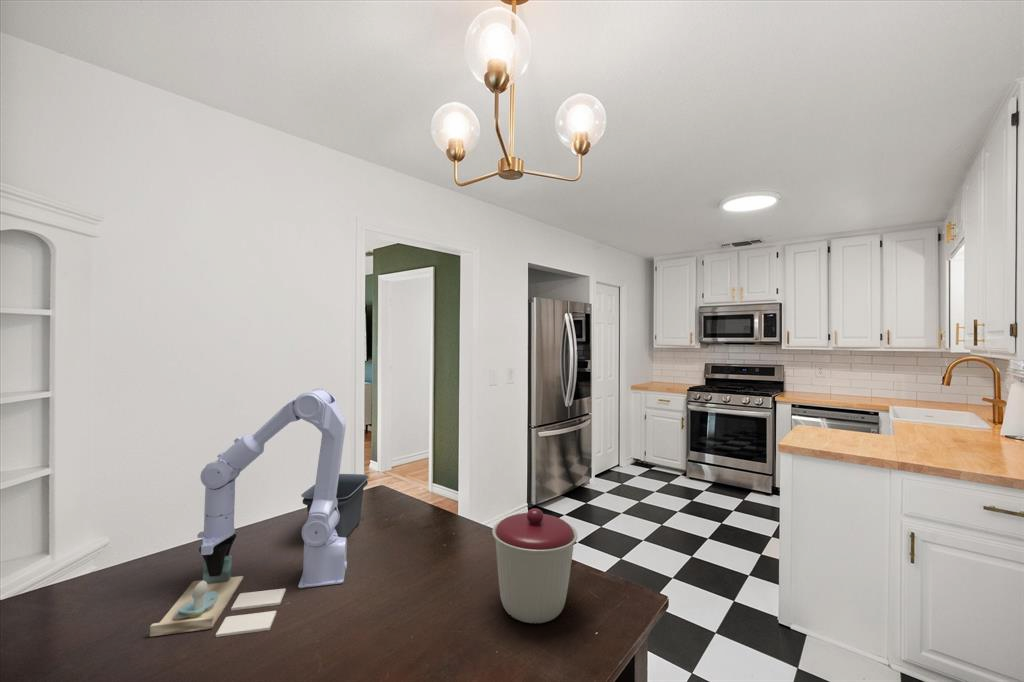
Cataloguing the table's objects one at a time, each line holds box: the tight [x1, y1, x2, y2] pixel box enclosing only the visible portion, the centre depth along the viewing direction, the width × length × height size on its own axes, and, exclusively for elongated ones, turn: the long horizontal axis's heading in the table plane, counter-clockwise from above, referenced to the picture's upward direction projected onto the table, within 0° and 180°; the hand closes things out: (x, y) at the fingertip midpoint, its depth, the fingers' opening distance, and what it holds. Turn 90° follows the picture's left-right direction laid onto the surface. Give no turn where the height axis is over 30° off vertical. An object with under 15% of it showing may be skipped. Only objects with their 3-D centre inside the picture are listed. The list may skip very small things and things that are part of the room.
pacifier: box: [173, 581, 218, 619], centre depth 88 cm, size 7×6×6 cm
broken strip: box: [215, 588, 286, 638], centre depth 90 cm, size 9×14×1 cm, turn 16°
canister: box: [491, 508, 578, 624], centre depth 94 cm, size 18×18×21 cm
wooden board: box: [149, 555, 244, 638], centre depth 92 cm, size 10×19×5 cm, turn 16°
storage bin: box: [301, 473, 370, 539], centre depth 128 cm, size 21×16×14 cm
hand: (217, 572), depth 100 cm, fingers closed on wooden board, 2 cm apart
